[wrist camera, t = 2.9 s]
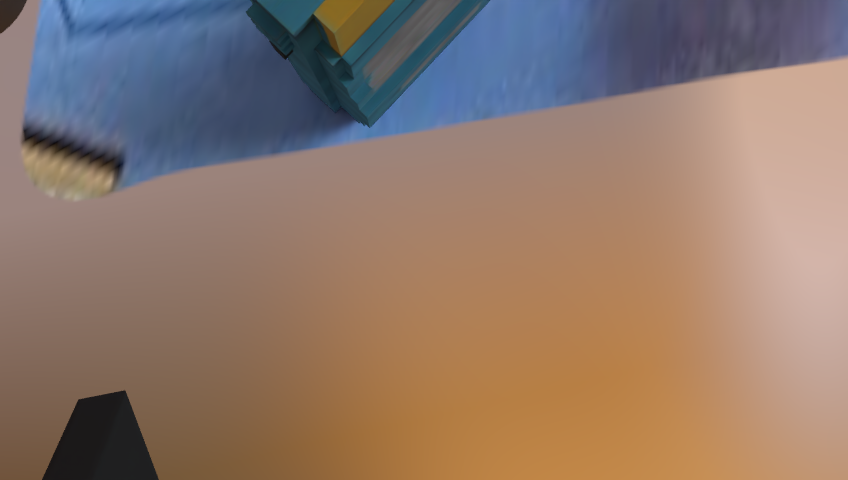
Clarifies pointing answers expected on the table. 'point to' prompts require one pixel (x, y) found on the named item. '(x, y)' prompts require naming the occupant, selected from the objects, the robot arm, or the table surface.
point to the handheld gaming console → (361, 45)
